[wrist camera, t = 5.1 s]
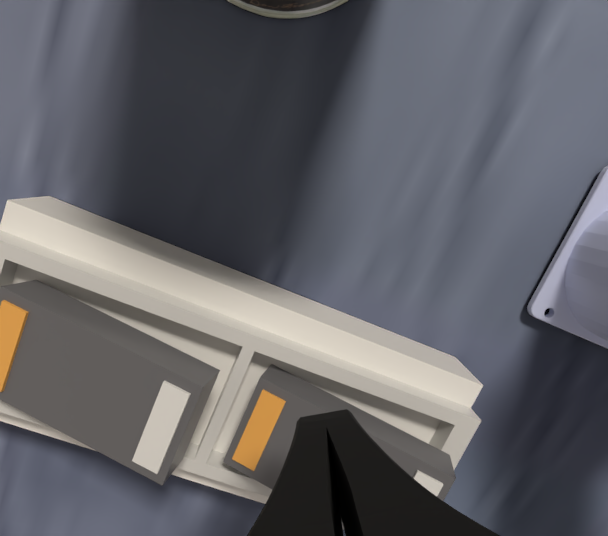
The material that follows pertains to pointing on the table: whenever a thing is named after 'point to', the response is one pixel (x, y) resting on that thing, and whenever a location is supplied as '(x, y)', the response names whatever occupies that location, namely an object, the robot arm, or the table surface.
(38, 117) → the table surface
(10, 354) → the rocker
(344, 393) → the rocker switch box
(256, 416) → the rocker
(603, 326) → the robot arm
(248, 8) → the coffee can
